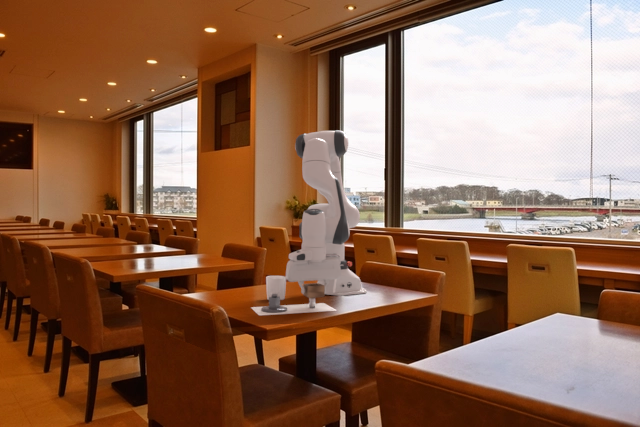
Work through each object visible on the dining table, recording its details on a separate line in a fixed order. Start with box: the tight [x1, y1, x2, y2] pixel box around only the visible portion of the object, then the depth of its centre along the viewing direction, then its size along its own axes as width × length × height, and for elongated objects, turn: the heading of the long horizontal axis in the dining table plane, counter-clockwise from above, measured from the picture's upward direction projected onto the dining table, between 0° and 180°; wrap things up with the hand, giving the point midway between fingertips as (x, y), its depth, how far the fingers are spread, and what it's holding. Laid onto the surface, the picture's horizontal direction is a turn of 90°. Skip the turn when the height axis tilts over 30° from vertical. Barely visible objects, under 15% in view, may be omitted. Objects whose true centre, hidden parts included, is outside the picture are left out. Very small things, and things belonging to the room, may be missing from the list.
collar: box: [302, 282, 325, 299], centre depth 185 cm, size 6×6×4 cm
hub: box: [261, 294, 287, 313], centre depth 180 cm, size 9×9×6 cm
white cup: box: [265, 275, 287, 301], centre depth 202 cm, size 8×8×10 cm
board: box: [250, 302, 338, 317], centre depth 183 cm, size 28×14×2 cm, turn 109°
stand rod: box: [308, 298, 316, 308], centre depth 185 cm, size 2×2×5 cm
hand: (313, 292), depth 185 cm, fingers closed on collar, 6 cm apart
